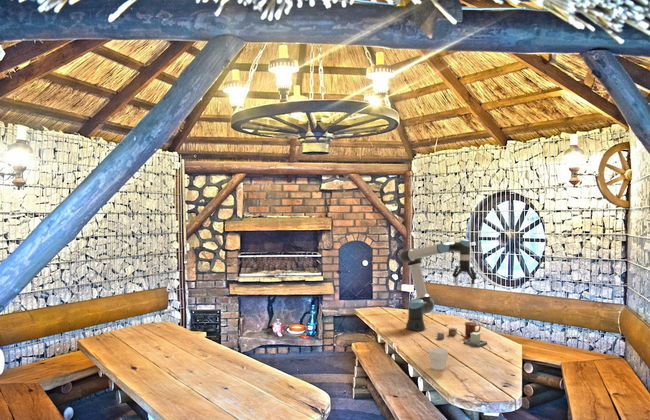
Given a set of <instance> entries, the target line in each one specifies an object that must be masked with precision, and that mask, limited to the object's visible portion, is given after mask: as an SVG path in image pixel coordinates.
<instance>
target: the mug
mask: <svg viewBox="0 0 650 420" xmlns="http://www.w3.org/2000/svg"><path fill="white" fill-rule="evenodd" d="M464 325H465V327H464V329H465V331H464V333H465V334H464V335H465V336H466V338H470V336H471V333H473V332H476V333H480V331H481V325H480V324H478V323H476V322H473V321H465V322H464ZM476 327H479V328H478V330H476Z"/></svg>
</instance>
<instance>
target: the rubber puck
mask: <svg viewBox="0 0 650 420" xmlns="http://www.w3.org/2000/svg"><path fill="white" fill-rule="evenodd" d="M436 336H437V337H436V339H437V340H445V333H444V332H440V331H439V332H437V335H436Z"/></svg>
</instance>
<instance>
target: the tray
mask: <svg viewBox="0 0 650 420" xmlns="http://www.w3.org/2000/svg"><path fill="white" fill-rule="evenodd" d="M463 344H465V345H467V344H468V346H472V347H477V348H480V347H482V346H485V345H488V341H486V340H482V339H480V343H479V344H476V343H471V342H470V338H469V339H466V340H463Z"/></svg>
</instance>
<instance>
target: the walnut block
mask: <svg viewBox="0 0 650 420" xmlns="http://www.w3.org/2000/svg"><path fill="white" fill-rule="evenodd" d="M457 330H458V329H457V327H448V336H451V335H452V337H456V336H457ZM455 335H456V336H455Z"/></svg>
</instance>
